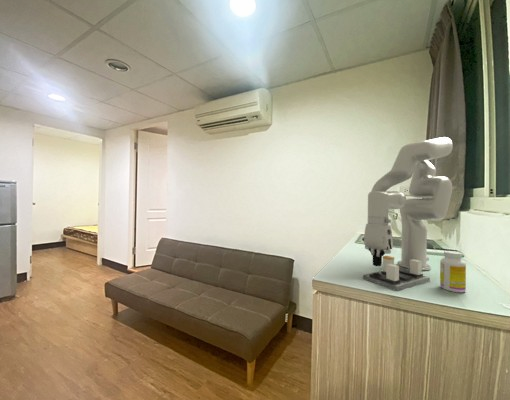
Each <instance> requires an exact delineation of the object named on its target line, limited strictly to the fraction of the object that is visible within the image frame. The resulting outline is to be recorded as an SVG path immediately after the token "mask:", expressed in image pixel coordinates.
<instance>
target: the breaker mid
mask: <svg viewBox="0 0 510 400" xmlns="http://www.w3.org/2000/svg"><path fill="white" fill-rule="evenodd" d="M387 264H393V265H395V257H394V256H390V255H383V256H382V271H385V272H386V265H387Z"/></svg>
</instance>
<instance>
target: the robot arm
mask: <svg viewBox="0 0 510 400" xmlns="http://www.w3.org/2000/svg"><path fill="white" fill-rule="evenodd" d="M453 145H454V144H453V141H452V139H451V138H449V137H448V136H447V137H446V136H443V137H436V138H432V139H427V140H421V141H416V142H412V143H408V144H406V145H403V146H402V147H401V148H400V150H399V152H398V154H397V157H396V158H395V161H394V163H393V165H392V168H391V169H390V170H389V171H388V172H387V173H385V174H384V175H383V176H381V178H379V179H378V180H377V181H376V182H375V183H374V185H373V186H372V188H371V191H370V192H368V195H367V223H366V224H365V228H364V234H363V235H364V236H363V245H364V249H365V250H367V251H369V252H370V255H371V256H372V266H375V267H382V265H383V256H385V255H386V254H391V253H392V250H393V248H394V247H393V246H394V241H393V232H392V231H393V230H392V227H391V225H390V223H392V219H389V210H399V213H400V220H401V256H400V257H401V258H400V260H398V261H397V264H396V265H397V266H399V267H400V268H401V267H402V268H403V269H405V268H406V269H407V270H408V269H409V270H410V260H412V259H414V260H419V261H422V271H430V270H431V269H432V268H431V267H432V266H431V265H429V264H427V262H429V261H430V258H429V257H428V256H427V249H428V245H427V244H428V243H427V242H428V240H427V239H428V237H427V235H428V231H427V226H426V225H425V223H424V222H423V221H434V222H436V221H437V222H439V221H443V219H445V218H446V215H447V213H448V210H449V206H450V201H451V197H452V194H453V183H452V181H451V179H450V178H449V177H447V176H436V172H437V169H436V167H435V166H434V165H433V164H432V163H431V162H430V161H431V160H436V159H439V158H444V157H447V156H449V155H450V154H451V153H452V151H453V147H454V146H453ZM429 160H430V161H429ZM409 179H411V180H410V184H409V187H408V194H409V195H410V196H411V197H413V198H407V196H406V195H405V194H404V193H402V192H401V191H396V190H395V191H389V190H390V188H392V187H394V186H396V185H398V184H402V183H403V182H406V181H408V180H409Z"/></svg>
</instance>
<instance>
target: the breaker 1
mask: <svg viewBox="0 0 510 400" xmlns="http://www.w3.org/2000/svg"><path fill="white" fill-rule="evenodd" d="M399 268H400V266H399V265H398V264H394V265H393V264H387V265H386V279H389V280H393V281H398V280H399Z"/></svg>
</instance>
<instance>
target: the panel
mask: <svg viewBox="0 0 510 400" xmlns="http://www.w3.org/2000/svg"><path fill="white" fill-rule="evenodd" d="M362 280H365V281H368V282H370V283H374V284H377V285H379V286H383V287H385V288H388V289H391V290H393V291H396V292H399V291H402V290H406V289H410V288H412V287H415V286H419V285H422V284H423V285H424V284H425V283H430V281H431V277H430V276H426V275H424V274H423V273H422V274H420V275H416V274H412V273H410V269H409V270H408V269H407V268H406V269H405V268H403V267H402V268H401V267H399V280H398V281H393V280H389V279H386V272H385V271H383V270H379V271H375V272H371V273H370V272H369V273H367V274H362Z"/></svg>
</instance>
